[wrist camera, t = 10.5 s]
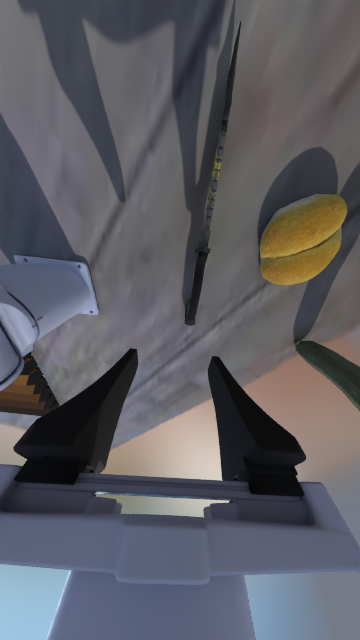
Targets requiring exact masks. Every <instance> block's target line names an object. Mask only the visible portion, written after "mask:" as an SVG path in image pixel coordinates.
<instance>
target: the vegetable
mask: <svg viewBox="0 0 360 640" xmlns="http://www.w3.org/2000/svg"><path fill="white" fill-rule="evenodd" d="M295 347H296V350H297V352H298V353H299V355H300V356H301V357H302V358H303V359H305V361H306V362H307V363H309V364H310V365H311V366H312V367H313V368H315V369H316V370H317V371H319V372H320V373H322V374H323V375H324V376H326V377H327V378H328V379H329V380H330V381H331V382H332V383H334V384H335V385H336V386H337V387H338V388H339V389H340V390H341V391H342V392H343V393H344V394H345V395H346V396H347V397H348V398H349V400H350V401H351V402H352V403H353V404H354V405H355V406H356V408H357V409H358V410H359V411H360V367H359V366H357V365H355V364H354V363H352V362H350V361H348V360H347V359H345V358H344V357H342V356H340V355H339V354H338V353H336V352H334V351H332V350H330V349H328V348H327V347H325V346H322V345H320V344H318V343H316V342H313V341H301V340H300V341H299V342H298V344H296V345H295Z"/></svg>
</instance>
